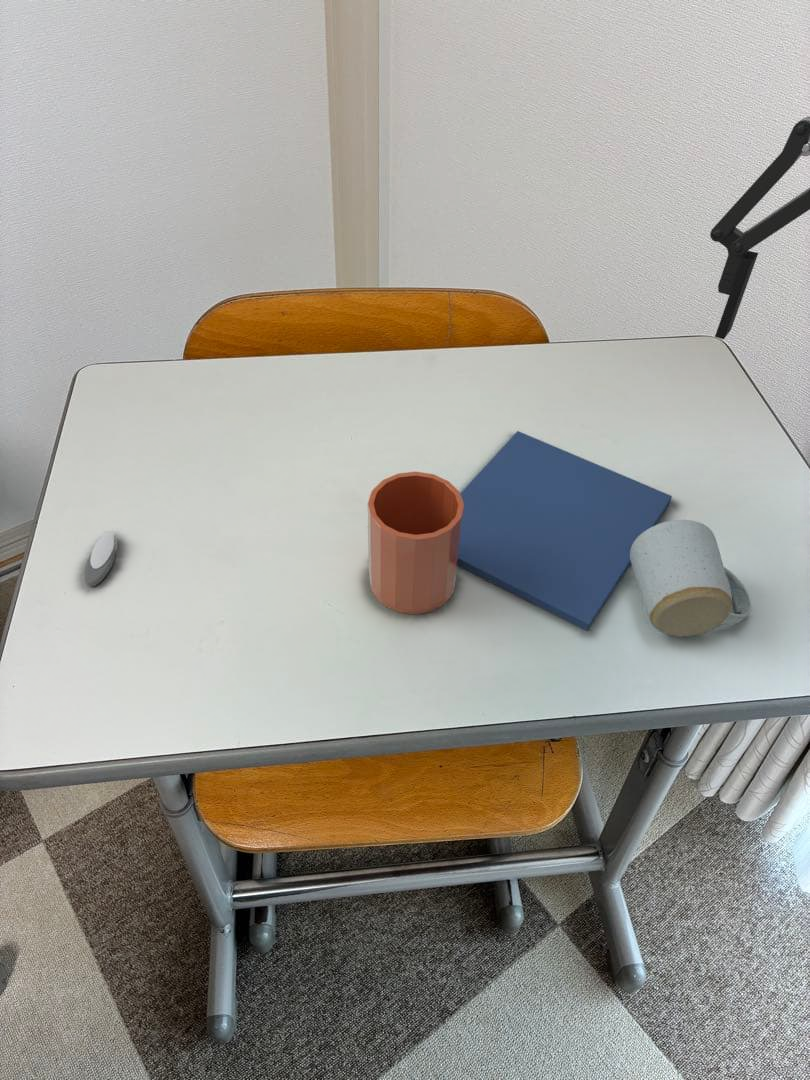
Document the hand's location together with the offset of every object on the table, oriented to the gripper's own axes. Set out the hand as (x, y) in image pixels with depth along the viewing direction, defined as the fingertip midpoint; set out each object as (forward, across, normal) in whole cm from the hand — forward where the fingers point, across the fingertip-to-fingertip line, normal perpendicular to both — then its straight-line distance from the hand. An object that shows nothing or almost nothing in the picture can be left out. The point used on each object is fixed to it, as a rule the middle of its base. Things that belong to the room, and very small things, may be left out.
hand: (806, 357), depth 65 cm
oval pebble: (+25, +50, +32) cm, 64 cm away
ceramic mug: (+22, +1, +8) cm, 24 cm away
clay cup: (+23, +24, +19) cm, 38 cm away
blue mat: (+21, +16, +5) cm, 27 cm away
